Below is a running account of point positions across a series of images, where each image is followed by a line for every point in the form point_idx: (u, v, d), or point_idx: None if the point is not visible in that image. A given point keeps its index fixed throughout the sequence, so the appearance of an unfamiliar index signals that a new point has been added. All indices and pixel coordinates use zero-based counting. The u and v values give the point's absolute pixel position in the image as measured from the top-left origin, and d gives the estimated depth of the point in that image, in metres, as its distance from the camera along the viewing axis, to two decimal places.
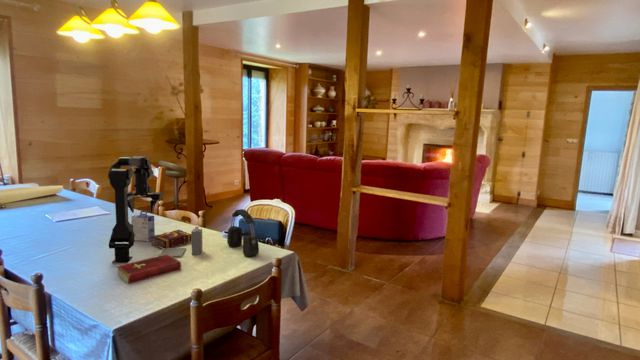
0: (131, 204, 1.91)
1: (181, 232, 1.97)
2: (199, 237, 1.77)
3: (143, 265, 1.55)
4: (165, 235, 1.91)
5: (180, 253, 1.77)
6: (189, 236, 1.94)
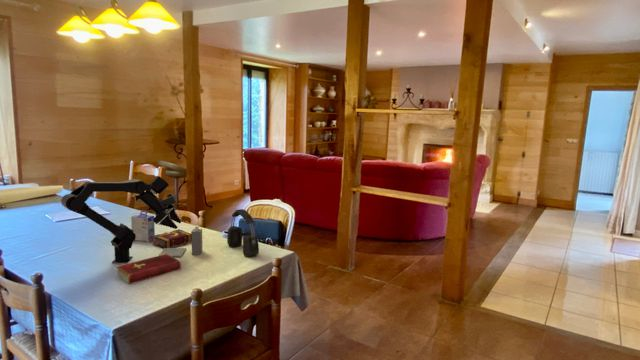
0: (172, 217, 1.81)
1: (182, 232, 1.97)
2: (199, 237, 1.77)
3: (143, 265, 1.55)
4: (166, 235, 1.92)
5: (180, 253, 1.77)
6: (190, 236, 1.94)
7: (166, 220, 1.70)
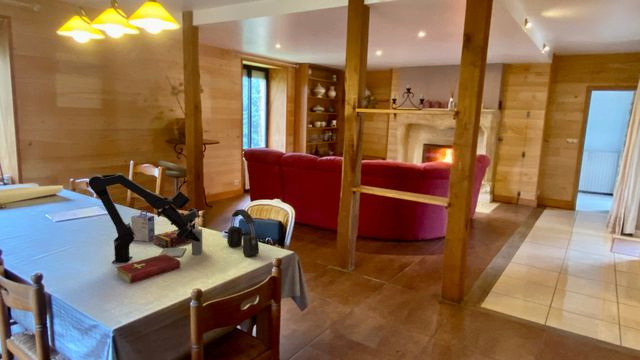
0: None
1: None
2: (199, 237, 1.77)
3: (143, 265, 1.55)
4: (167, 234, 1.93)
5: (180, 253, 1.77)
6: None
7: (189, 233, 1.74)
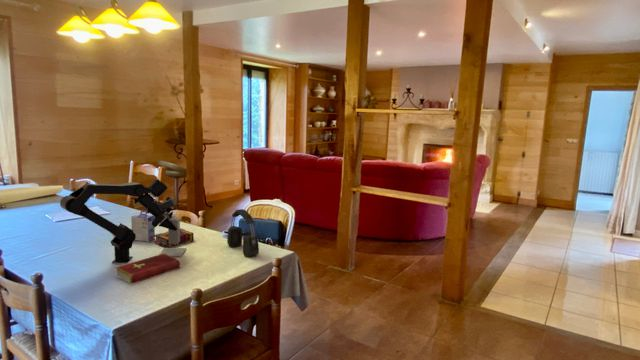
0: None
1: (183, 231, 1.99)
2: (176, 226, 1.75)
3: (143, 265, 1.55)
4: (167, 234, 1.94)
5: (180, 253, 1.77)
6: (191, 235, 1.96)
7: (166, 222, 1.72)
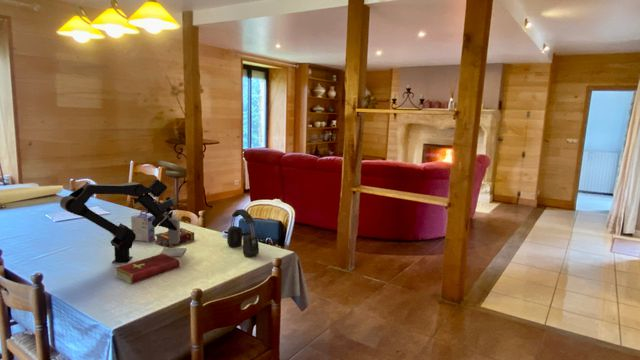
0: None
1: (184, 230, 2.00)
2: (176, 226, 1.75)
3: (143, 265, 1.55)
4: None
5: (180, 253, 1.77)
6: (192, 234, 1.97)
7: (165, 222, 1.72)
